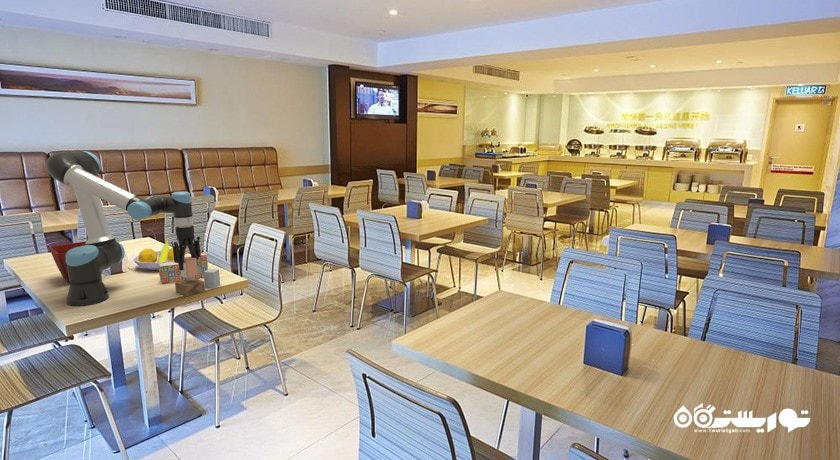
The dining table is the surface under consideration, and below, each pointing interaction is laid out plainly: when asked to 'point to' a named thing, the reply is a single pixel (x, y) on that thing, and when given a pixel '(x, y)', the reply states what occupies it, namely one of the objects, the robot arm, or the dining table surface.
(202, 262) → the stack of blocks
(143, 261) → the fruit bowl
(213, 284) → the greyblue block
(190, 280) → the walnut base
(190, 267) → the terracotta block
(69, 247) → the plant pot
